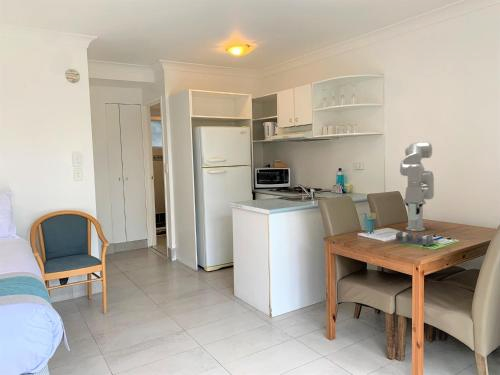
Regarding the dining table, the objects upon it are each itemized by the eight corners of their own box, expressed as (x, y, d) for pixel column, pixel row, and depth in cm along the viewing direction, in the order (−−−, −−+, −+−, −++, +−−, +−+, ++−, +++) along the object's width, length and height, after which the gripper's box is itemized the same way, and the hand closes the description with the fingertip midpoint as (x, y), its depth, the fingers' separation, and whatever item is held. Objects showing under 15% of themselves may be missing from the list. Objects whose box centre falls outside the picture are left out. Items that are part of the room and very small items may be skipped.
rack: (400, 238, 254) (400, 230, 254) (433, 241, 242) (433, 233, 241) (394, 242, 244) (394, 233, 243) (428, 246, 232) (428, 237, 231)
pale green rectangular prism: (413, 217, 246) (413, 202, 245) (418, 218, 244) (418, 202, 243) (409, 219, 239) (409, 203, 239) (415, 220, 237) (415, 203, 236)
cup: (365, 234, 269) (365, 213, 268) (357, 233, 276) (357, 212, 275) (379, 232, 276) (379, 211, 275) (371, 230, 283) (370, 210, 282)
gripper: (430, 184, 238) (429, 214, 239) (402, 184, 248) (402, 212, 249) (426, 185, 232) (426, 215, 233) (398, 184, 242) (398, 214, 243)
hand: (414, 213), depth 241 cm, fingers closed on pale green rectangular prism, 3 cm apart
